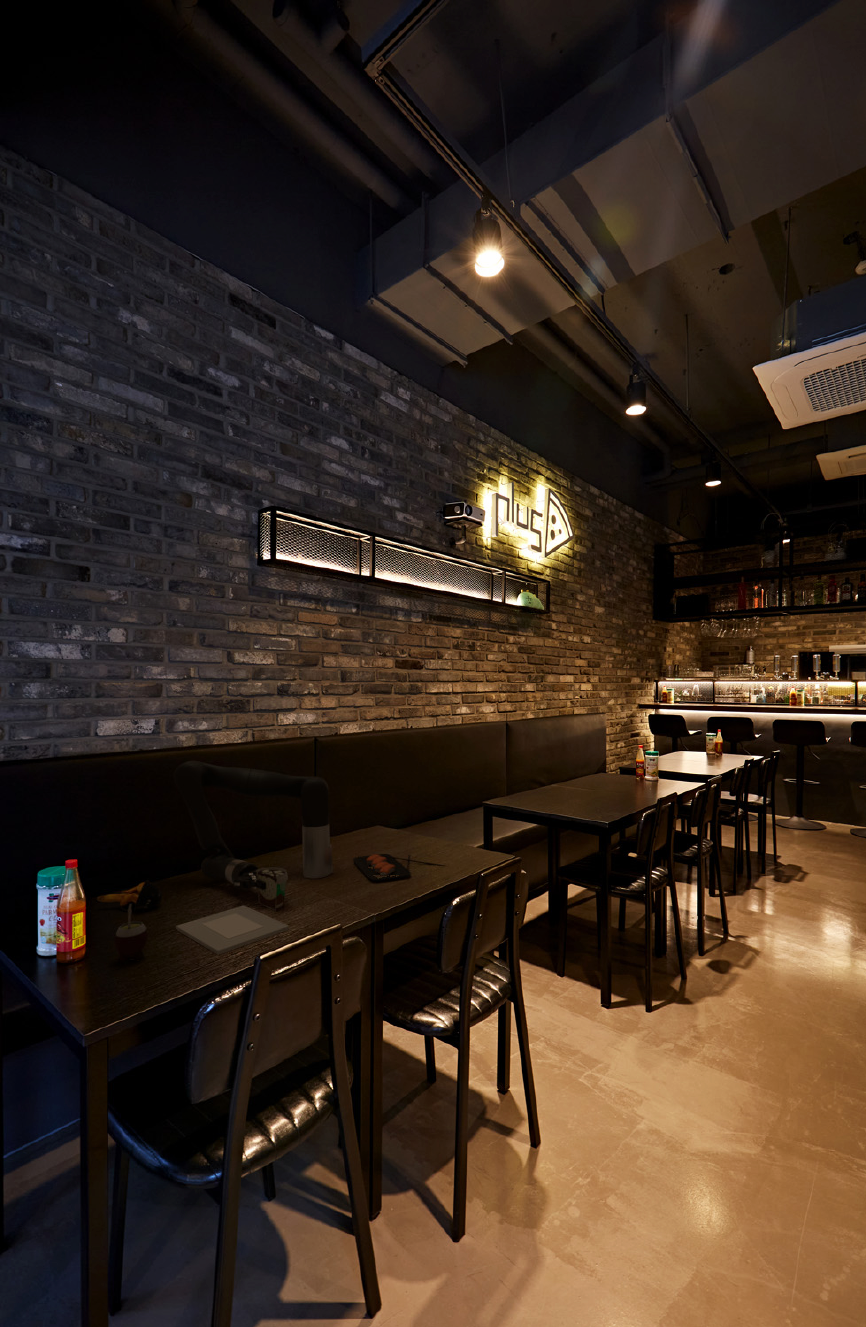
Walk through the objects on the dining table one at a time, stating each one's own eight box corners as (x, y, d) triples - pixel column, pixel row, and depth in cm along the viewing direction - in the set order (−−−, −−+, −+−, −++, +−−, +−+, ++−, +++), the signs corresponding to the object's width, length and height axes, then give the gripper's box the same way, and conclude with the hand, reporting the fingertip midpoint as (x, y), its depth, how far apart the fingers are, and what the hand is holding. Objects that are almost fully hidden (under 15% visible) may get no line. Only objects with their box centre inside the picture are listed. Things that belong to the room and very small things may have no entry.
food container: (296, 906, 180) (296, 872, 181) (278, 912, 176) (277, 877, 176) (274, 897, 189) (274, 864, 189) (256, 902, 184) (256, 869, 185)
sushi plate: (350, 863, 225) (350, 852, 225) (426, 852, 236) (426, 842, 236) (371, 886, 198) (371, 874, 198) (456, 873, 209) (456, 862, 209)
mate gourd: (132, 951, 152) (132, 890, 153) (156, 955, 149) (155, 893, 150) (106, 963, 145) (106, 900, 146) (130, 968, 142) (130, 904, 143)
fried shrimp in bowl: (158, 898, 177) (94, 883, 174) (150, 927, 180) (88, 913, 177) (169, 877, 186) (108, 862, 183) (162, 905, 189) (102, 891, 186)
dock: (243, 908, 179) (243, 904, 180) (288, 929, 163) (288, 925, 163) (176, 929, 165) (176, 925, 165) (218, 955, 148) (218, 950, 148)
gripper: (220, 866, 189) (248, 877, 177) (261, 856, 199) (290, 866, 187) (221, 891, 189) (249, 904, 177) (262, 880, 199) (291, 891, 187)
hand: (270, 884), depth 182 cm, fingers open, 3 cm apart
